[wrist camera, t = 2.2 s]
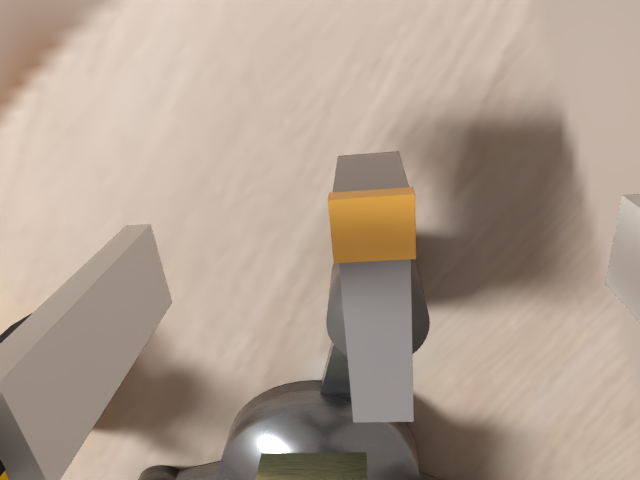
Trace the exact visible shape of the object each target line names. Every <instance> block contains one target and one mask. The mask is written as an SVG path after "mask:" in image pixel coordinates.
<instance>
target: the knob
mask: <svg viewBox="0 0 640 480" xmlns="http://www.w3.org/2000/svg"><path fill="white" fill-rule="evenodd" d="M328 206H329V216H330V227H331V237H332V248H333V258H334V264H333V267H332V274H331V283H330V293H329V302H328V312H327V331H328V334H329V337H330V339H331V341H332V342H333V344H334V345H335V346H336V348H337V349H338V350H339V351H340V352H342V353H343V354H344V355H346V356H347V358H348V369H349V380H350V391H351V402H352V413H353V423H356V422H414V412H413V359H412V354H413V353H415V352H416V351H417V350H418V349H419V348H420V346H421V345H422V344H423V342H424V341H425V339H426V337H427V334H428V331H429V324H430V321H429V314H428V310H427V306H426V301H425V297H424V293H423V289H422V284H421V280H420V276H419V271H418V267H417V264H416V261H415V259H416V223H415V192H414V189H413V187H409V185H408V181H407V178H406V174H405V171H404V168H403V164H402V161H401V158H400V154H399V151H397V152H383V153H370V154H357V155H344V156H338V159H337V166H336V173H335V180H334V186H333V193H329V197H328Z"/></svg>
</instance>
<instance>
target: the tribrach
mask: <svg viewBox="0 0 640 480" xmlns="http://www.w3.org/2000/svg"><path fill="white" fill-rule="evenodd" d="M138 480H440V479H437V478H434V477H431V476H428V475H425V474H422V473H419V466H418V458H417V451H416V444H415V440H414V437H413V434H412V432H411V430H410V428H409V426H408V425H407V423H406V422H356V423H353V413H352V402H351V391H350V380H349V369H348V358H347V356H346V355H344V354H343V353H342V352H340V351H339V350H338V349H337V348H336V346H335V345H334V344H333V342H332V344H331V348H330V352H329V355H328V359H327V363H326V367H325V370H324V374H323V378H322V381H304V382H295V383H290V384H285V385H282V386H279V387H275V388H273V389H270V390H268V391H266V392H264V393H262V394H260V395H259V396H257V397H255V398H254V399H253V400H251V401H250V402H249V403H248V404H246V405H245V407H244V408H243V409H242V410H241V411H240V412H239V414H238V415H237V417H236V418H235V420H234V422H233V425H232V427H231V430H230V433H229V436H228V439H227V443H226V446H225V449H224V452H223V455H222V459H221V461H220V462H215V463H210V464H206V465H201V466H197V467H192V468H187V469H183V470H178V469H175V468H172V467H168V466H154V467H150V468H148V469H146V470H145V471H143V472H142V473H141V475H140V477H139V479H138Z"/></svg>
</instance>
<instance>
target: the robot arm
mask: <svg viewBox="0 0 640 480" xmlns="http://www.w3.org/2000/svg"><path fill="white" fill-rule="evenodd" d="M605 284H606V286H607V287H608V288H609V289H610V290H611V291H612V292H613V293H614V295H615V296H616V297H617V298H618V299H619V300H620V301H621V303H622V304H623V305H624V306H625V307H626V308H627V309H628V310H629V312H630V313H631V314H632V315H633V316H634V317H635V318H636V319H637V320H638V322H639V323H640V194H633V195H622V198H621V203H620V208H619V214H618V219H617V225H616V230H615V235H614V240H613V246H612V251H611V256H610V261H609V266H608V272H607V277H606V282H605ZM171 304H172V300H171V296H170V293H169V289H168V286H167V282H166V278H165V275H164V271H163V267H162V264H161V260H160V257H159V253H158V249H157V246H156V242H155V238H154V235H153V231H152V228H151V224H147V225H131V226H125V227H124V228H123V229H122V230H121V231H120V232H119V233H118V234H117V235H116V236H115V237H114V238H112V239H111V240H110V241H109V242H108V243H107V244H106V245H105V246H104V247H103V248H102V249H101V250H100V251H99V252H98V253H96V254H95V255H94V256H93V257H92V258H91V259H90V260H89V261H88V262H87V263H86V264H85V265H84V266H83V267H82V268H80V269H79V270H78V271H77V272H76V273H75V274H74V275H73V276H72V277H71V278H70V279H69V280H68V281H67V282H66V283H64V284H63V285H62V286H61V287H60V288H59V289H58V290H57V291H56V292H55V293H54V294H53V295H52V296H51V297H50V298H48V299H47V300H46V301H45V302H44V303H43V304H42V305H41V306H40V307H39V308H38V309H37V310H36V311H35V312H34V313H32V314H30V315H28V316H27V317H25V318H23V319H22V320H20V321H18V322H17V323H15V324H13V325H12V326H10V327H9V328H8V329H7V330H6V331H5V332H4V333H3V334H1V335H0V476H1V475H2V474H3V472H4V471H5V472H6V474H7V476H8V478H9V480H60V479H61V477H62V476H63V474H64V473H65V471H66V470H67V468H68V466H69V465H70V463H71V462H72V460H73V458H74V457H75V455H76V454H77V452H78V451H79V449H80V447H81V446H82V444H83V443H84V441H85V440H86V438H87V436H88V435H89V433H90V432H91V430H92V428H93V427H94V425H95V424H96V422H97V421H98V419H99V417H100V416H101V414H102V413H103V411H104V410H105V408H106V406H107V405H108V403H109V402H110V400H111V398H112V397H113V395H114V394H115V392H116V391H117V389H118V387H119V386H120V384H121V383H122V381H123V380H124V378H125V376H126V375H127V373H128V372H129V370H130V368H131V367H132V365H133V364H134V362H135V361H136V359H137V357H138V356H139V354H140V353H141V351H142V349H143V348H144V346H145V345H146V343H147V342H148V340H149V338H150V337H151V335H152V334H153V332H154V331H155V329H156V327H157V326H158V324H159V323H160V321H161V319H162V318H163V316H164V315H165V313H166V312H167V310H168V308H169V307H170V305H171Z"/></svg>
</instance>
